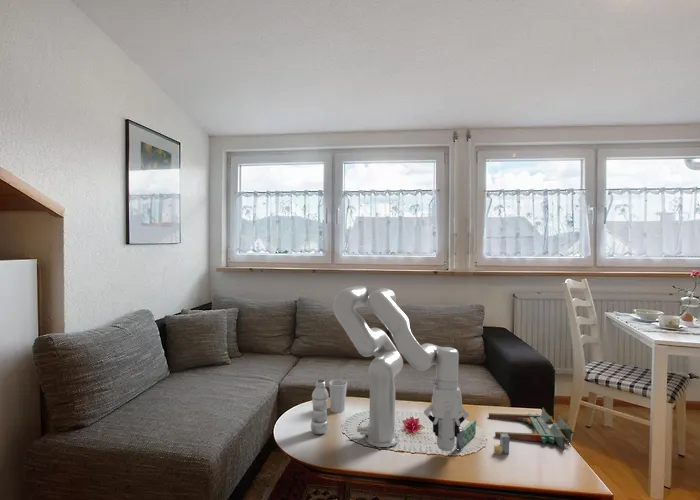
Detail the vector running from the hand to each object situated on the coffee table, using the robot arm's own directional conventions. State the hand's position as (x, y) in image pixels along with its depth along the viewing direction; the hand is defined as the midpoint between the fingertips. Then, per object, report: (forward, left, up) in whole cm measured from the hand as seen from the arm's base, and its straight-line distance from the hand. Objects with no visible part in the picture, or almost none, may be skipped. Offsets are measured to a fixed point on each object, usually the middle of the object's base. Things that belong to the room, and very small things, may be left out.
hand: (445, 434), depth 139 cm
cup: (-41, +34, -8) cm, 54 cm away
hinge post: (+6, +5, -8) cm, 11 cm away
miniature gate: (+38, +23, -8) cm, 45 cm away
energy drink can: (0, 0, -5) cm, 5 cm away
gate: (+10, +11, -7) cm, 17 cm away
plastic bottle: (-46, +12, -8) cm, 48 cm away
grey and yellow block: (+20, +5, -8) cm, 22 cm away
